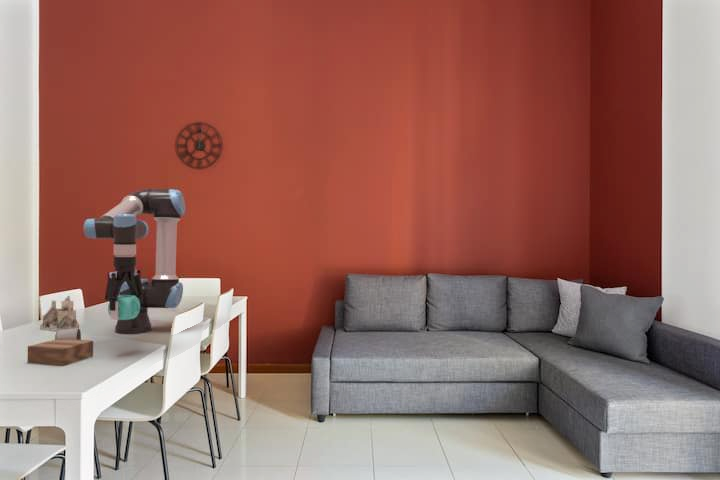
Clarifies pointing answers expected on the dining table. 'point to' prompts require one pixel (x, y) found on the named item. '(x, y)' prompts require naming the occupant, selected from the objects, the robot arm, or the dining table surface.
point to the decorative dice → (127, 307)
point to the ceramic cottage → (60, 317)
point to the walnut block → (60, 352)
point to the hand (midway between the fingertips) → (124, 317)
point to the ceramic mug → (69, 334)
